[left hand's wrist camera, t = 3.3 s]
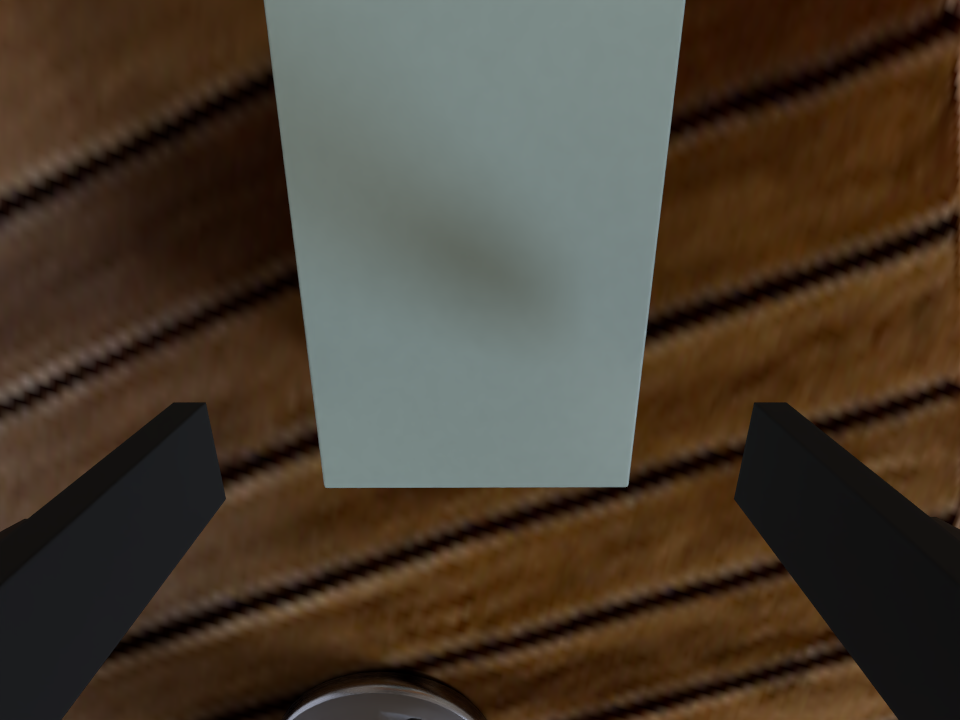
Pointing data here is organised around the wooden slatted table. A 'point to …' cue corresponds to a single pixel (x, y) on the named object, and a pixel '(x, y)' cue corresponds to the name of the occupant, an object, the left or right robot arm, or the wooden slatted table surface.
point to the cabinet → (475, 230)
